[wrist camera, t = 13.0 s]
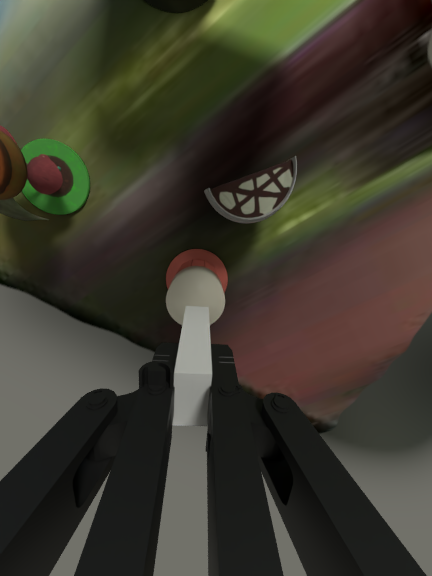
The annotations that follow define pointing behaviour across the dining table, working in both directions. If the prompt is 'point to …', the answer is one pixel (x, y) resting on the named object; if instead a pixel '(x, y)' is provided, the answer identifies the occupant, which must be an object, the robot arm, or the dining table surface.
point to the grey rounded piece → (195, 293)
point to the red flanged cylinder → (197, 264)
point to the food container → (255, 193)
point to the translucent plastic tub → (41, 177)
